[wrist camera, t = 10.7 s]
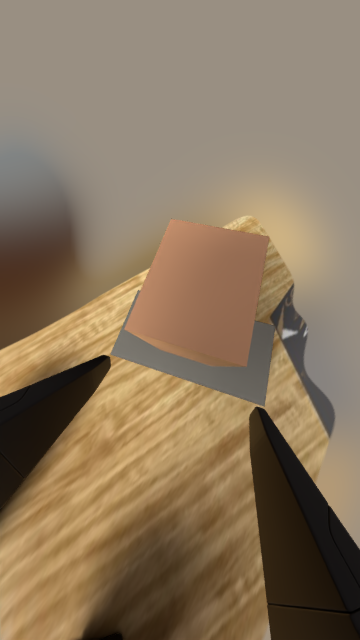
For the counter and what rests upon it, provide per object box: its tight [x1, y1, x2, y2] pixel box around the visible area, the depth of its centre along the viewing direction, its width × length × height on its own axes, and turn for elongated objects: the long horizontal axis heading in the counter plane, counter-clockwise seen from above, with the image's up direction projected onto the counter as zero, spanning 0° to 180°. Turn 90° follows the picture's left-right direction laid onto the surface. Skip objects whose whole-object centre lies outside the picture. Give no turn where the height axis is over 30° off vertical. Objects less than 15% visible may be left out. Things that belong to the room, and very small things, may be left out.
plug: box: [124, 219, 269, 367], centre depth 11 cm, size 5×4×11 cm
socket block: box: [111, 290, 275, 407], centre depth 20 cm, size 9×18×5 cm, turn 73°
